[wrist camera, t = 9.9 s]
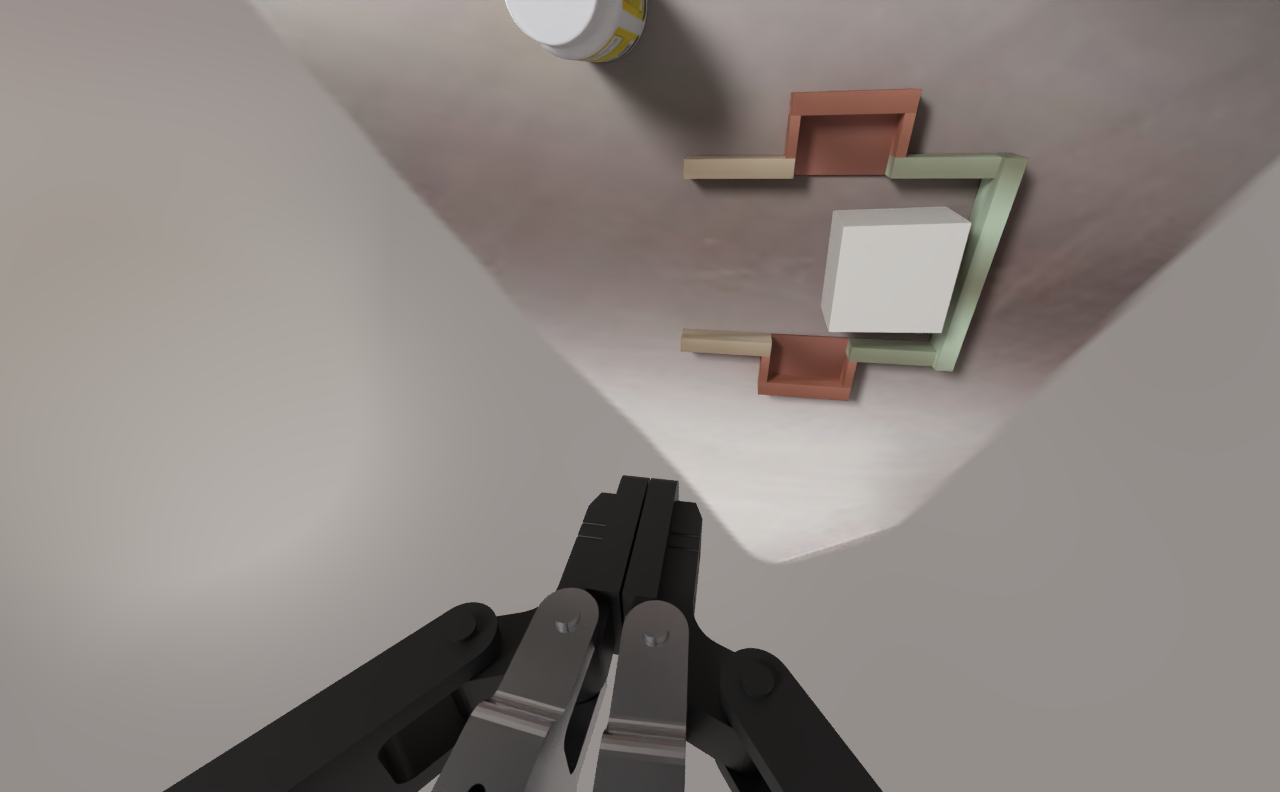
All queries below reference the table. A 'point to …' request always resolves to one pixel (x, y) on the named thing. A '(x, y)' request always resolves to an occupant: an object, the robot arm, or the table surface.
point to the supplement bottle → (582, 26)
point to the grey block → (892, 269)
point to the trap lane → (863, 145)
